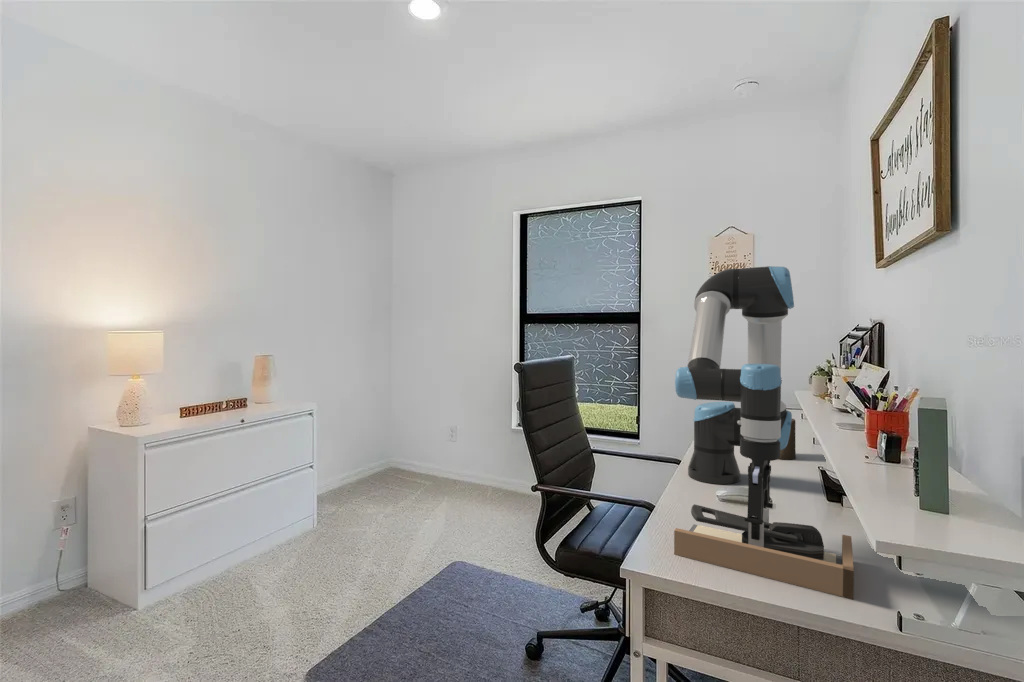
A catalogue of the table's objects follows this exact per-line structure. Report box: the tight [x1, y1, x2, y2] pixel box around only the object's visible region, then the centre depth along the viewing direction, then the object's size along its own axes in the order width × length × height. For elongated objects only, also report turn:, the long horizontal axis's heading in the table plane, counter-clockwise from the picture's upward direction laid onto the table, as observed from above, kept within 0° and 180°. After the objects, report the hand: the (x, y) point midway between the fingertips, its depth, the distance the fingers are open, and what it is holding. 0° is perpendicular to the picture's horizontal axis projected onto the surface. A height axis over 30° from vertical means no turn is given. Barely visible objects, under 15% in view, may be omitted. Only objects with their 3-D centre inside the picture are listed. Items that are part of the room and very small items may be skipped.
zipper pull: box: [690, 504, 825, 561], centre depth 102 cm, size 9×7×25 cm
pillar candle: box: [778, 418, 797, 461], centre depth 175 cm, size 10×10×15 cm
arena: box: [673, 524, 855, 600], centre depth 99 cm, size 16×30×5 cm, turn 56°
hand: (758, 545), depth 102 cm, fingers closed on zipper pull, 8 cm apart
